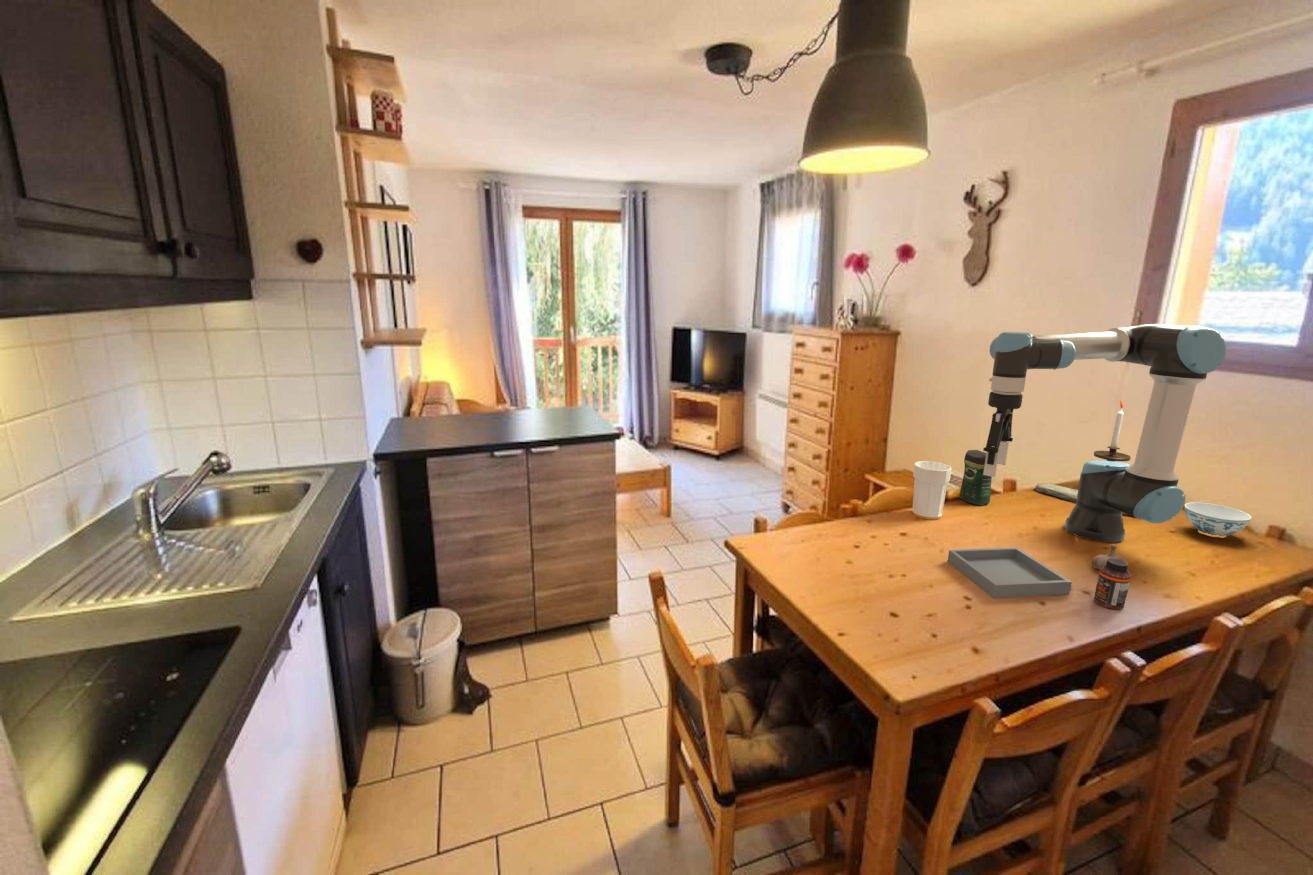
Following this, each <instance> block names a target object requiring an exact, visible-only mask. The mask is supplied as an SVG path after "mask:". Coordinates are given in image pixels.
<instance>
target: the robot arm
mask: <svg viewBox="0 0 1313 875" xmlns="http://www.w3.org/2000/svg"><path fill="white" fill-rule="evenodd" d="M1226 353H1227V344H1226V342H1225V338H1224V337H1223V336H1222V335H1221V333H1220V332H1218V331H1217V330H1216V329H1214V328H1210V327H1206V326H1200V325H1181V324H1179V325H1177V324H1162V323H1153V324H1152V323H1150V324H1139V325H1132V326H1124V327H1112V328H1109V329H1108V330H1107V329H1106V331H1098V332H1096V331H1095V332H1074V333H1072V332H1071V333H1052V334H1035V335H1034V334H1031V333H1030V332H1023V331H1022V332H1021V331H1019V332H1018V331H1005V332H1004V331H1003V332H1001V333H1000V334H999V335H998V336H997V337H995V338H994V339H993V340H992V341H991V343H990V345H989V355H990V357H991V358H992V359H993V368H992V376H991V377H989V379H988V381H989V382H990V390H991V391H990V392H989V396H988V402H987V404H988V406H989V407H992V408H996V412H995V413H994V412H993V414H992V416H991V417H992V418H991V425H990V428H989V432H988V436H987V441H986V445H985V447H983V448H982V450H983V451H982V452H985V453H986V459H985V466H984V472H983V475H987V476H992V478H993V477H994V478H995V477H996V476H997V475H996V474H997V468H998V465H1002V466H1006V464H1007V460H1008V459H1007V457H1008V451H1009V444H1010V443H1011V442H1013V437H1012V432H1013V431H1012V426H1013V416H1014V415H1013V414H1014V413H1013V412H1014V410H1017V409H1018V410H1019V409H1021V407H1022V403H1023V397H1024V396H1023V394H1022V393H1023V392H1025V385H1026V379H1027V372H1028V370H1058V369H1065V368H1068V367H1070V366H1071V364H1073V362H1074V361H1076V360H1077V361H1078V360H1079V361H1080V360H1097V359H1098V360H1099V359H1100V360H1102V359H1104V360H1105V361H1108V362H1112V363H1113V362H1123V363H1124V362H1125V363H1130V364H1131V363H1132V364H1137V365H1141V366H1147V367H1150V368H1149V372H1148V375H1149V376H1150V377H1151V378H1152V379H1153V385H1152V386H1153V387H1152V390H1151V393H1150V394H1151V395H1150V398H1149V402H1148V405H1147V410H1146V413H1145V414H1146V415H1145V418H1144V422H1143V426H1142V429H1141V430H1142V431H1141V435H1140V438H1139V442H1138V446H1137V450H1136V454H1135V458H1134V461H1133V464H1132V465H1131V464H1129V463H1126V462H1123V461H1115V462H1114V461H1107V460H1089V461H1087V462H1085V463H1083V466H1082V470H1081V472H1080V476H1079V477H1080V478H1079V483H1078V488H1077V490H1078V493H1077V500H1076V502H1075V505H1074V507H1073V508H1072V510H1071V512H1070V514H1069V516H1068V517H1066V519H1065V520H1064V521H1065V522H1064V530H1066V531H1067V532H1069V533H1070V534H1072V535H1074V536H1077V537H1079V538H1082V539H1087V540H1091V541H1095V542H1100V543H1101V542H1102V543H1120V542H1122V541H1124V540H1125V536H1126V529H1125V526H1124V525H1125V524H1124V519H1123V514H1122V512H1124V513H1127V514H1126V515H1128V514H1129V515H1128V516H1131V517H1134V518H1135V519H1137V520H1140V521H1144V522H1147V523H1150V524H1163V523H1165V522H1168V521H1170V520H1171V519H1173V518H1175V517H1176V516H1177V515H1178V514H1179V513H1180V512H1181V511H1182V509H1183V508H1184V507H1185V504H1186V503H1185V502H1186V494H1185V491H1184V490H1182V488H1180V487H1179V486H1178V483H1179V480H1180V477H1179V476H1178V474H1176V472H1175V471H1174V470H1175V466H1176V463H1177V458H1178V455H1179V451H1180V448H1181V444H1182V440H1183V436H1184V431H1185V428H1186V425H1187V422H1188V419H1189V418H1188V417H1189V413H1190V408H1191V406H1192V402H1193V399H1194V395H1195V390H1196V388H1197V385H1198V384H1201V383H1202V382H1204V381H1206V379H1207V375H1208V374H1210V373H1213V372H1214V371H1216V370H1217V369H1218V368H1219V366H1221V365H1222V364H1223V362H1224V360H1225V357H1226V355H1227V354H1226Z"/></svg>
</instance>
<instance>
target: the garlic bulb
mask: <svg viewBox="0 0 1313 875" xmlns="http://www.w3.org/2000/svg"><path fill="white" fill-rule="evenodd" d="M1116 550H1117V545H1115V544H1113V543H1112V544H1111V546H1110V549H1109V553H1106V554H1097V555H1095V556H1094V557H1093V558H1092V559H1091V561H1090V563H1091V565H1092V566H1093V568H1095V569H1097V570H1098V571H1100V568H1101V567H1102V566H1105V565H1107V564H1106V563H1107V559H1109V558H1116V559H1120V560H1123V561H1125V559H1124V558H1123V557H1121V556H1120V555H1117V553H1116ZM1115 553H1116V554H1115Z"/></svg>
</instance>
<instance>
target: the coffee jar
mask: <svg viewBox="0 0 1313 875" xmlns="http://www.w3.org/2000/svg"><path fill="white" fill-rule="evenodd" d="M985 459H986V451H981V450H978V449H969V450H967V451H966V453H965V456H964V460H963V461H964V463H963V464H964V471H963V476H962V480H961V481H962V482H961V486H960V490H959V498H960V500H962V501H965V502H967V503H968V504H969V503H970V504H973V505H978V506H979V505H980V506H985V505H988V504H990V502H991V491H992V479H993V477H992V476H987V475H983V472H984V466H985Z"/></svg>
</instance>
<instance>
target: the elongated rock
mask: <svg viewBox="0 0 1313 875" xmlns="http://www.w3.org/2000/svg"><path fill="white" fill-rule="evenodd" d="M1035 491H1036V492H1037V491H1038V493H1042V494H1045V495H1048V496H1052V497H1055V498H1058V497H1059V499H1061V500H1066V501H1068V502H1072V503H1076V500H1077V493H1078V489H1075V488H1074V489H1073V488H1071V487H1065V486H1061V485H1057V484H1053V483H1049V482H1041V483H1040V482H1039V483H1037V484H1036V485H1035ZM1123 514H1124V515H1123ZM1122 515H1123V516H1126V515H1128V516H1130V515H1129V514H1127V513H1124V512H1122Z"/></svg>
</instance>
